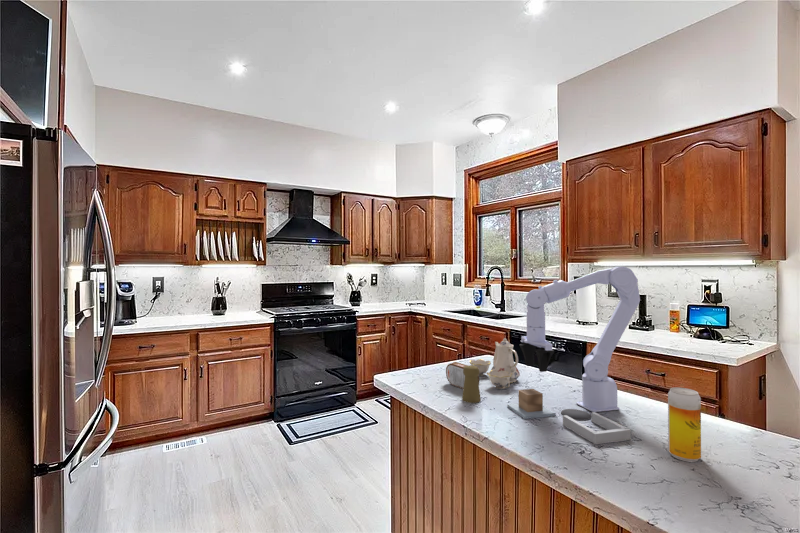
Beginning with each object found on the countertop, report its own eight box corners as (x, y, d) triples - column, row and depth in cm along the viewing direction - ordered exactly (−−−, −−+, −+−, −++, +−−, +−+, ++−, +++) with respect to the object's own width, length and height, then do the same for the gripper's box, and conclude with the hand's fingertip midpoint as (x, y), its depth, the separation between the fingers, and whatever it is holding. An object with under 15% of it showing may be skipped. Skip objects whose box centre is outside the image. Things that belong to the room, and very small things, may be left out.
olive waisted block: (480, 403, 126) (480, 368, 126) (461, 402, 128) (461, 368, 128) (480, 397, 132) (480, 364, 132) (462, 396, 134) (462, 363, 134)
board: (536, 404, 126) (536, 401, 126) (555, 415, 116) (555, 412, 116) (507, 406, 123) (507, 404, 123) (524, 418, 113) (524, 416, 113)
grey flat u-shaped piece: (595, 421, 112) (595, 412, 112) (630, 439, 100) (630, 429, 100) (562, 424, 109) (562, 415, 109) (595, 444, 97) (595, 434, 97)
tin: (480, 392, 138) (479, 368, 138) (473, 394, 136) (473, 369, 136) (450, 382, 150) (450, 359, 150) (444, 383, 148) (444, 360, 148)
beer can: (702, 465, 87) (702, 396, 87) (668, 458, 90) (668, 392, 90) (699, 454, 92) (699, 389, 92) (667, 448, 95) (667, 385, 95)
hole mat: (578, 408, 121) (578, 407, 121) (597, 418, 113) (597, 417, 113) (555, 411, 119) (555, 410, 119) (573, 421, 111) (573, 420, 111)
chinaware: (463, 376, 163) (459, 336, 163) (498, 369, 168) (495, 330, 167) (499, 398, 136) (494, 350, 136) (540, 388, 141) (536, 342, 141)
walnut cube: (533, 404, 123) (533, 388, 123) (542, 410, 118) (542, 393, 118) (518, 406, 121) (518, 390, 121) (527, 412, 116) (527, 395, 116)
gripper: (513, 323, 135) (513, 363, 135) (537, 330, 121) (538, 375, 121) (531, 322, 137) (531, 362, 137) (558, 329, 123) (558, 373, 123)
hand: (536, 368), depth 129 cm, fingers open, 7 cm apart
